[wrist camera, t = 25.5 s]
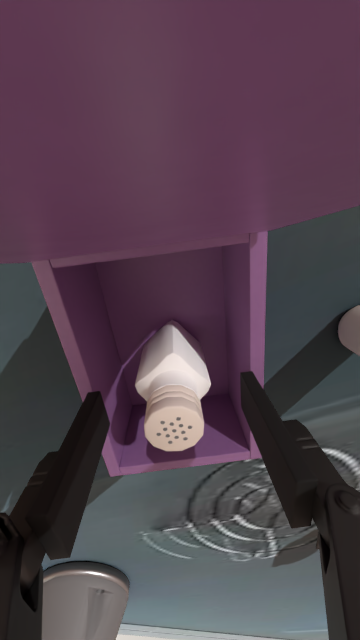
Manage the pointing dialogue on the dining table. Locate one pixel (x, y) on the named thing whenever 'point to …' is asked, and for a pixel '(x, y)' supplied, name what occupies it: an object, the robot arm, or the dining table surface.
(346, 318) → the beverage can
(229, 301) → the file box
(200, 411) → the salt shaker
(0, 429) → the dining table surface
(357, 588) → the robot arm
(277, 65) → the lid
